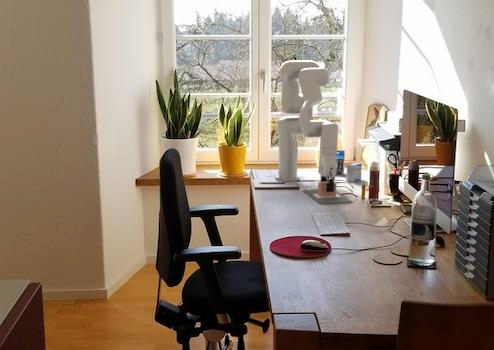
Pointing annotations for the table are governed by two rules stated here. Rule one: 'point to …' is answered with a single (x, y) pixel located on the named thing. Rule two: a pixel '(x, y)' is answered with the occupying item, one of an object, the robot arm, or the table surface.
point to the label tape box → (340, 162)
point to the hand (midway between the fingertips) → (326, 189)
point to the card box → (323, 187)
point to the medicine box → (354, 172)
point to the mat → (327, 200)
